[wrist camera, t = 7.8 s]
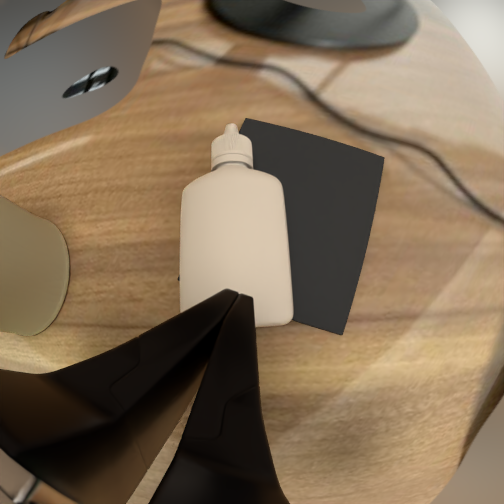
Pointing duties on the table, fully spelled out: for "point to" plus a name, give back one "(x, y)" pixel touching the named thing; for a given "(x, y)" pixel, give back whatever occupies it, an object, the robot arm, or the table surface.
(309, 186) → the felt mat
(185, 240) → the eye dropper bottle
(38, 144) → the table surface
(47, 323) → the can
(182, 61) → the table surface
